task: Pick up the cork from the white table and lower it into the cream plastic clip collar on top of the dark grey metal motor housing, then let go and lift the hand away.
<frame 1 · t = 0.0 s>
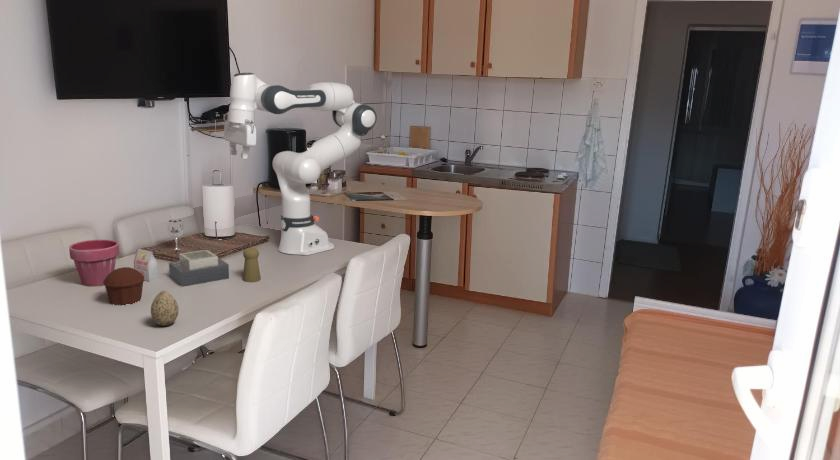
hand: (238, 156, 225), 39 cm above the table, tool pointing down, fingers open, 8 cm apart
cork: (251, 279, 212), on the table
decorative egg: (165, 325, 173), on the table
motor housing: (199, 277, 212), on the table
white box: (146, 279, 209), on the table
wineglass: (176, 251, 240), on the table
plant pot: (97, 282, 204), on the table
muffin: (125, 301, 189), on the table
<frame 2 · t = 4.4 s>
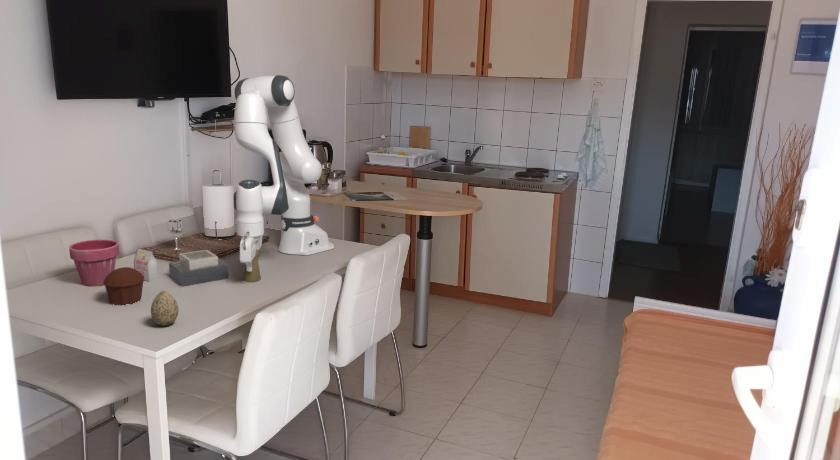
hand: (251, 267, 211), 4 cm above the table, tool pointing down, fingers closed on cork, 5 cm apart
cork: (251, 279, 212), on the table, touching gripper
everything else where it was.
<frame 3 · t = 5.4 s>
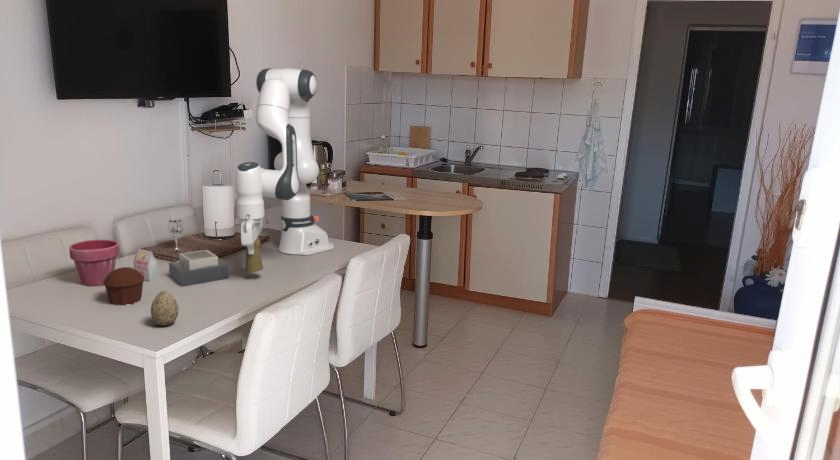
hand: (253, 251, 210), 10 cm above the table, tool pointing down, fingers closed on cork, 4 cm apart
cork: (254, 269, 212), point 3 cm above the table, touching gripper
everything else where it was.
when the fingers open (12 cm above the table, at t = 9.1 s): cork stays where it is, resting on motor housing.
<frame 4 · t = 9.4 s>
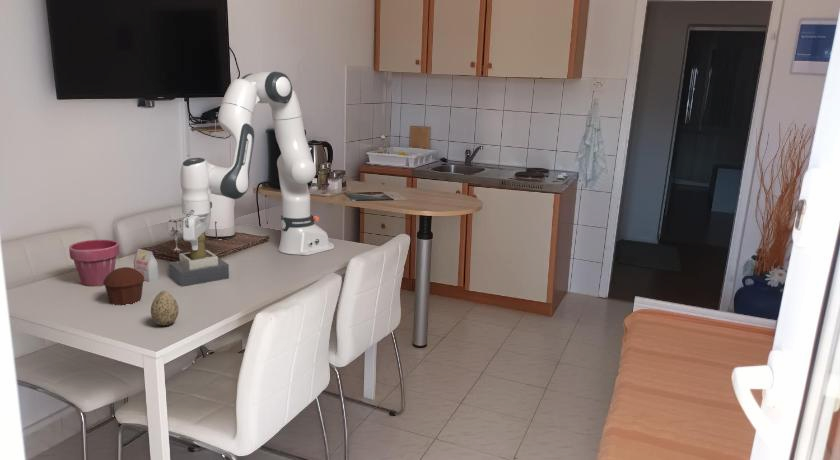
hand: (197, 247, 209), 11 cm above the table, tool pointing down, fingers open, 4 cm apart
cork: (198, 264, 211), point 5 cm above the table, touching gripper, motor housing
everything else where it was.
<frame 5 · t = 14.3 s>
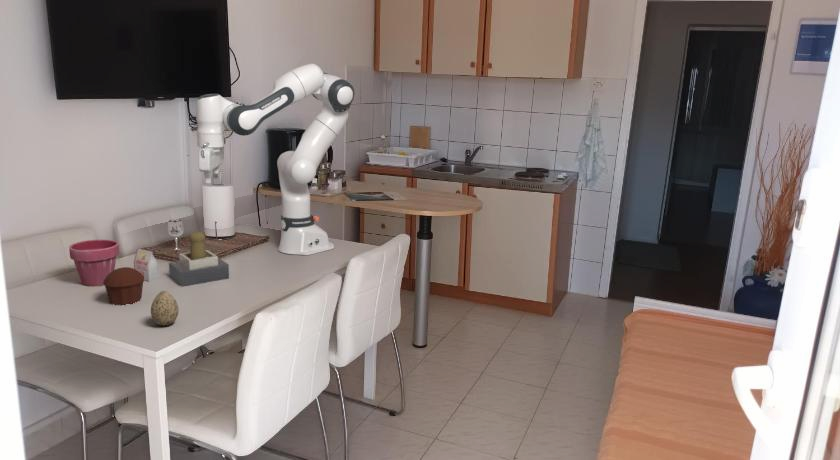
hand: (212, 180, 219), 31 cm above the table, tool pointing down, fingers open, 8 cm apart
cork: (198, 264, 211), point 5 cm above the table, touching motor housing
everything else where it was.
at the end: cork 0.1 cm off-centre on the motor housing, point 4.8 cm above the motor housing's base; cork tilted 0°; the gripper is holding nothing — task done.
